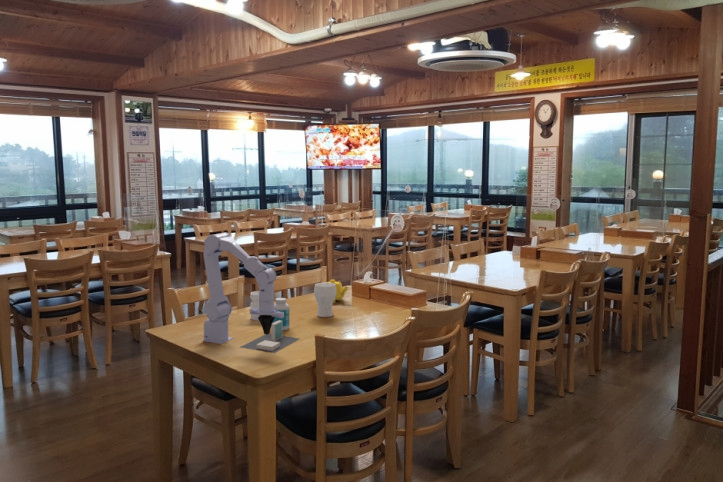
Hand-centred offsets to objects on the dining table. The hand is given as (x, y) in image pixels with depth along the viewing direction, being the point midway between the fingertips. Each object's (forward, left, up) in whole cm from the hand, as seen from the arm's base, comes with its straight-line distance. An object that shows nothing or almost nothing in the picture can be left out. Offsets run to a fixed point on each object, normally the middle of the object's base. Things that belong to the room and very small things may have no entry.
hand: (266, 333), depth 226 cm
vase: (-27, +36, -6) cm, 45 cm away
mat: (-2, +6, -6) cm, 8 cm away
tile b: (-2, +11, -6) cm, 12 cm away
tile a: (-3, 0, -5) cm, 5 cm away
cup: (-2, +54, -6) cm, 54 cm away
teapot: (-11, +81, -6) cm, 82 cm away
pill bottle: (-9, +25, -6) cm, 27 cm away
